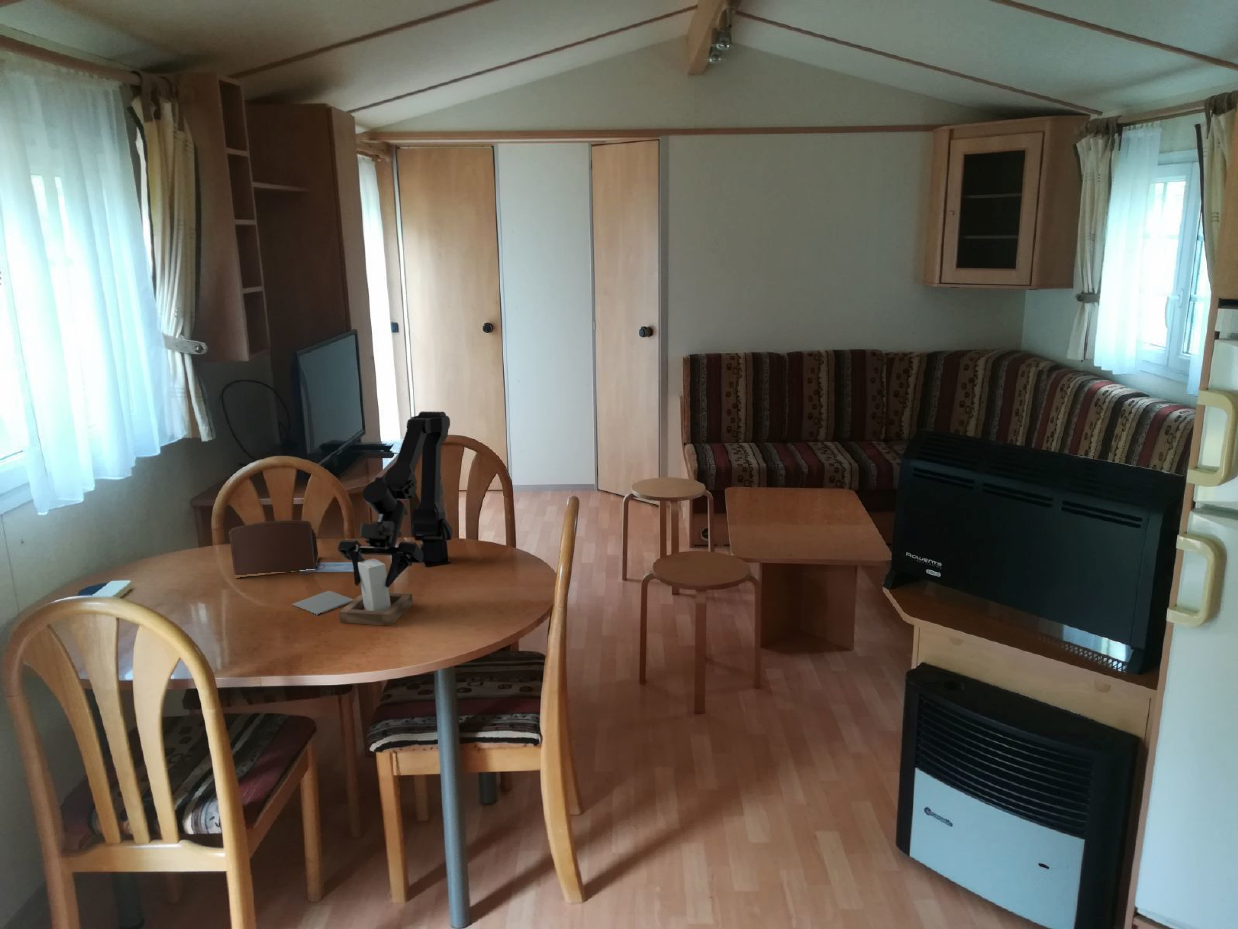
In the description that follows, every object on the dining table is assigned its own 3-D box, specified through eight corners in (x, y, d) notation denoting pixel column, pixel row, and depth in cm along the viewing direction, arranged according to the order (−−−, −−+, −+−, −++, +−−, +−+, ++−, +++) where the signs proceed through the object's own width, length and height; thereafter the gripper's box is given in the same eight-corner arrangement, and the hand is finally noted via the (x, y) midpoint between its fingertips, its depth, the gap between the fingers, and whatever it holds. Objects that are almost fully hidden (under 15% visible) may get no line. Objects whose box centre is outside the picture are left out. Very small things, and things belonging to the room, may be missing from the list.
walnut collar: (365, 601, 213) (364, 591, 213) (413, 604, 211) (412, 594, 210) (340, 622, 202) (338, 612, 201) (390, 625, 200) (389, 614, 199)
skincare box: (392, 614, 206) (387, 563, 203) (374, 620, 203) (368, 568, 200) (380, 606, 210) (375, 556, 207) (362, 612, 207) (357, 561, 204)
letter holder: (316, 570, 235) (310, 518, 232) (234, 579, 231) (227, 526, 227) (319, 558, 245) (313, 507, 241) (240, 566, 240) (233, 515, 237)
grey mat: (329, 592, 220) (328, 590, 220) (354, 601, 214) (354, 599, 214) (292, 605, 212) (291, 604, 212) (317, 615, 206) (316, 613, 206)
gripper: (336, 506, 206) (317, 569, 198) (414, 508, 203) (397, 572, 195) (356, 528, 216) (338, 589, 208) (430, 531, 212) (415, 593, 204)
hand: (371, 586), depth 203 cm, fingers closed on skincare box, 7 cm apart
